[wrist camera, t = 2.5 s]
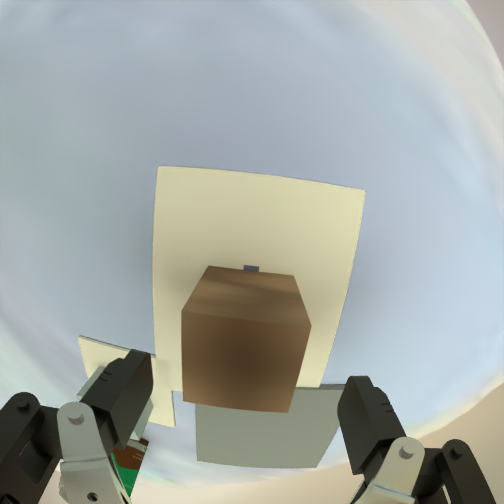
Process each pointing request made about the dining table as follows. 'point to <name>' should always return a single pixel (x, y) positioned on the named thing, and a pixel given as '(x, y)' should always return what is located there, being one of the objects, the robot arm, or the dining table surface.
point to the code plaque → (251, 249)
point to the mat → (270, 431)
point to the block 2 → (243, 340)
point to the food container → (123, 465)
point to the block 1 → (144, 416)
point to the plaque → (106, 353)
